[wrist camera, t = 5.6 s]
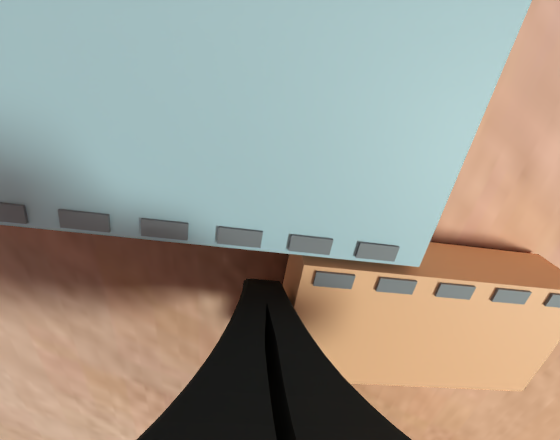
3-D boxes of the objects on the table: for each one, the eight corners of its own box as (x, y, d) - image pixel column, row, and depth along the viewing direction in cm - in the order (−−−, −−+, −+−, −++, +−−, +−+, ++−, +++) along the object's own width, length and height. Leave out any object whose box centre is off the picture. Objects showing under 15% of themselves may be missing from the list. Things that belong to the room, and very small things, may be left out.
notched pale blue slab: (388, 228, 12) (420, 268, 10) (6, 183, 10) (-66, 220, 8) (481, -35, 9) (563, -68, 6) (-71, -170, 7) (-235, -285, 5)
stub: (484, 344, 15) (524, 393, 13) (273, 329, 14) (277, 382, 12) (538, 254, 13) (597, 294, 11) (294, 226, 12) (304, 266, 9)
